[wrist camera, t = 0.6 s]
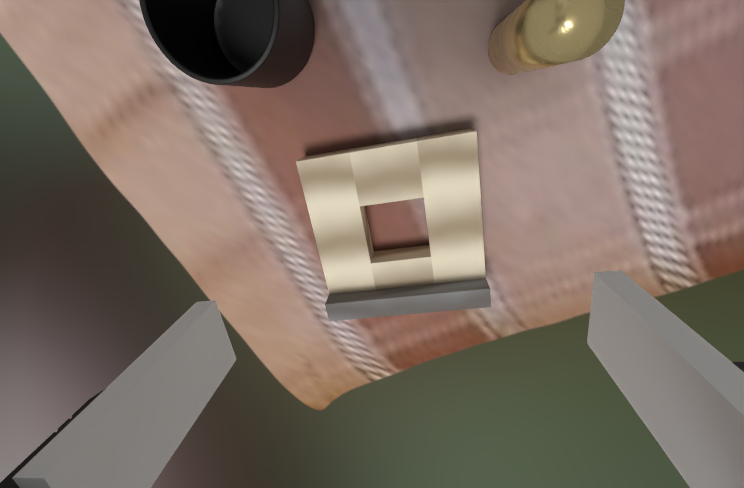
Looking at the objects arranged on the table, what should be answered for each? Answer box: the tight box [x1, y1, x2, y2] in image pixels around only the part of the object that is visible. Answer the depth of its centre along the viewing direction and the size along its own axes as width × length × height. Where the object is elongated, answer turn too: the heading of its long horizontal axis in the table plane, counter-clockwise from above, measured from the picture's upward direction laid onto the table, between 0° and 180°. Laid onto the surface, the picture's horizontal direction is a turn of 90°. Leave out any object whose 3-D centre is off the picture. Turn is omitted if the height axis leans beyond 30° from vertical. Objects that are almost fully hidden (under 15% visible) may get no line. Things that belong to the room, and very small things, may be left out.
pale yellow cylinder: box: [488, 0, 625, 75], centre depth 24 cm, size 4×4×12 cm
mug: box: [140, 0, 314, 88], centre depth 26 cm, size 9×12×9 cm
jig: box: [296, 128, 491, 321], centre depth 34 cm, size 16×16×5 cm
